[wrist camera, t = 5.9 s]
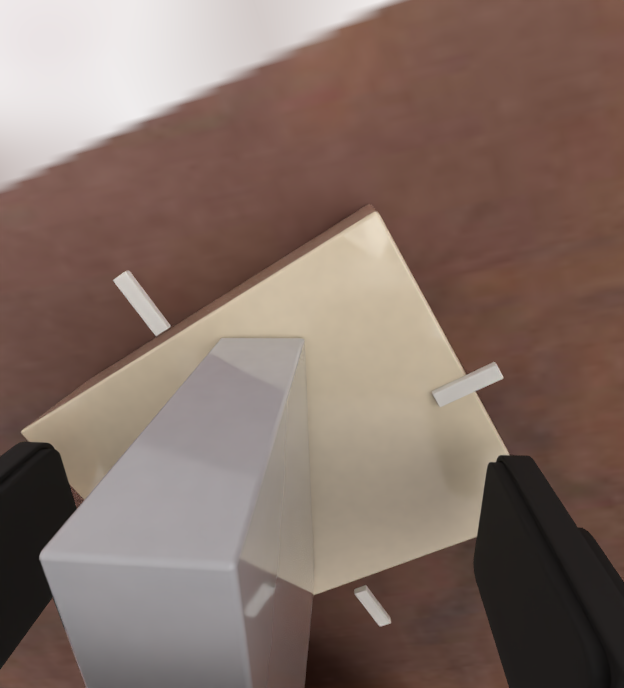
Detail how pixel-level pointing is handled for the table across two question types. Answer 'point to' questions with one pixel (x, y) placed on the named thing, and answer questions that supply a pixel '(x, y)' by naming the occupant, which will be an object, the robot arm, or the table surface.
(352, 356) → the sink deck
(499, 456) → the robot arm
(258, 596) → the grey flat block
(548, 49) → the table surface
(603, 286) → the table surface
